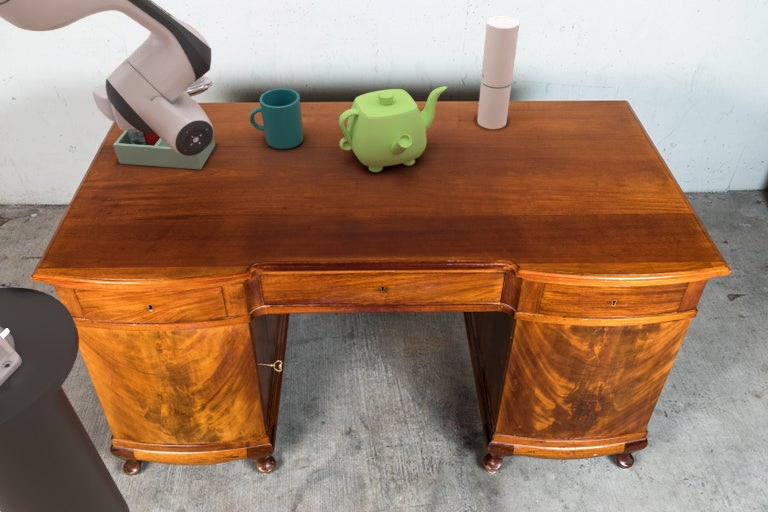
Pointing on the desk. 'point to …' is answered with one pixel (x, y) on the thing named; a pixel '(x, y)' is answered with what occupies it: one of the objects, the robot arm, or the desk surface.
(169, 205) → the desk surface
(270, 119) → the cup
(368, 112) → the teapot
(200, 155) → the divided storage tray
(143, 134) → the beverage can
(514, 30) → the cylindrical container
